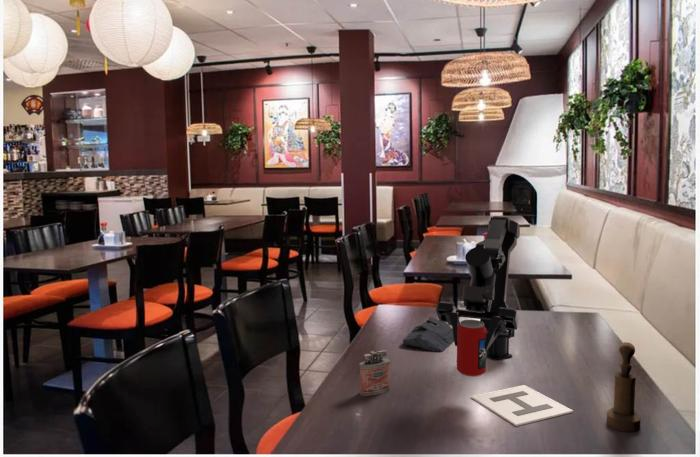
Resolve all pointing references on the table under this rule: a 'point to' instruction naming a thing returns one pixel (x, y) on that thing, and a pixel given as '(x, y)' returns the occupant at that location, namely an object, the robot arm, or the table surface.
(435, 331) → the dark slate chunk
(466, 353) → the beverage can
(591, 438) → the table surface
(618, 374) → the brown knobbed pedestal
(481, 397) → the letter mat
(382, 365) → the lighter
